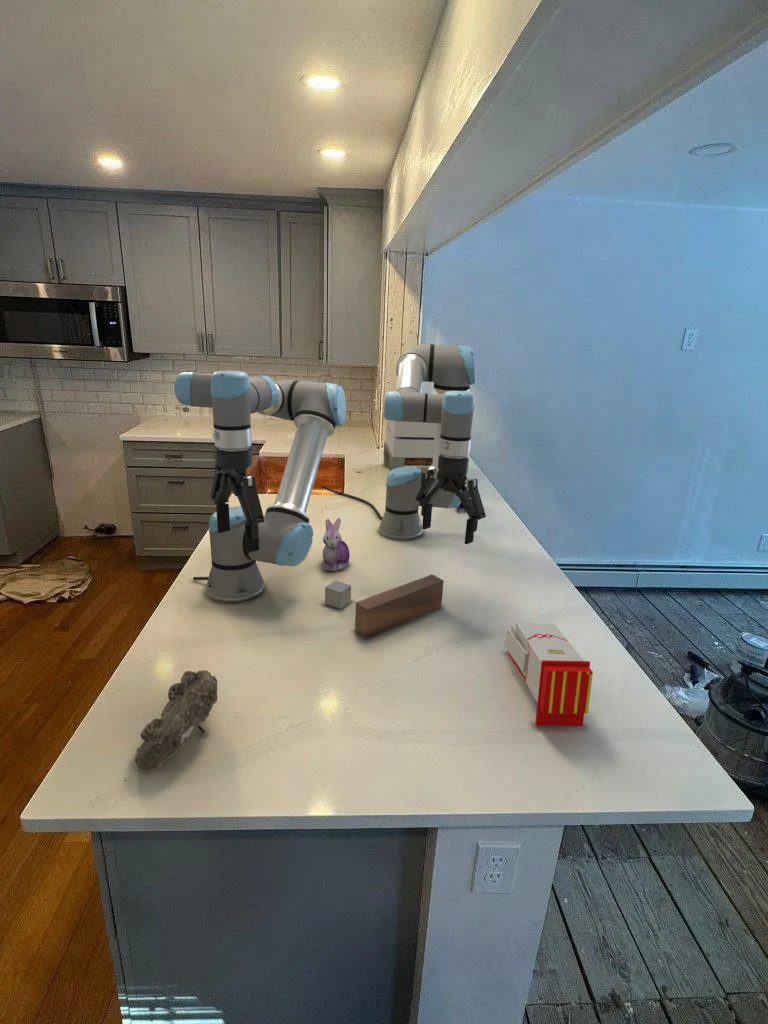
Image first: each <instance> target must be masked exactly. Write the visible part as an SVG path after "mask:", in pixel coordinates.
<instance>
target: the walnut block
mask: <svg viewBox="0 0 768 1024" xmlns="http://www.w3.org/2000/svg"><path fill="white" fill-rule="evenodd" d="M444 583H445V580H444V579H442V578H440V577H438V576H437V575H434V574H429V575H426V576H424V577H421V578H417V579H416V580H413V581H410V582H407V583H405V584H401V585H399V586H396V587H394V588H391V589H388V590H385V591H382V592H380V593H377V594H374V595H371V596H369V597H366V598H363V599H361V600H358V601H355V616H354V617H355V619H354V632H356V633H357V634H358V635H360V636H361V637H362V638H364V639H365V640H367V639H370V638H372V637H374V636H377V635H379V634H381V633H383V632H386V631H388V630H391V629H393V628H396V627H398V626H400V625H403V624H405V623H408V622H410V621H412V620H414V619H417V618H419V617H421V616H423V615H426V614H429V613H431V612H433V611H436V610H439V609H440V608H442V605H443V594H444Z"/></svg>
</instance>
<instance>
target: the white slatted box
mask: <svg viewBox="0 0 768 1024" xmlns="http://www.w3.org/2000/svg"><path fill="white" fill-rule="evenodd" d="M385 423H386V428H385V438H384V442H383V466H384V467H388V468H389V472H390V471H391V470H393V469H395V468H399V467H405V466H406V467H407V466H412V467H417V466H418V467H429V466H431V465H432V463H433V451H434V438H435V424H436V423H424V422H401V421H400V422H397V421H392V420H387V419H385Z"/></svg>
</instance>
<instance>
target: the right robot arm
mask: <svg viewBox="0 0 768 1024" xmlns="http://www.w3.org/2000/svg"><path fill="white" fill-rule="evenodd" d="M395 375H396V382H395V387H394V391H390V390H389V391H387V392H385V394H384V401H383V402H384V403H383V417H384V419H385V420H386V419H387V420H392V421H397V422H400V421H401V422H424V423H436V424H435V438H434V451H433V463H432V465H430V466H429V465H428V466H427V472H422V469H421V468H420V467H419V466H418V467H417V466H407V465H406V466H404V467H399V468H395V469H393V470H391V471H390V470H389V471H388V473H387V475H386V482H385V487H386V488H385V489H386V490H385V504H384V505H385V507H384V508H385V509H384V513H383V515H382V516H381V514H380V512H379V511H378V510H377V508H376V506H375V505H374V504H372V503H370V501H367V500H365V499H363V498H361V497H358V496H354V495H352V494H348V493H345V492H341V491H338V490H335V489H332V488H329V487H327V486H325V485H323V484H322V485H321V488H322V489H324V490H327V491H328V492H332V493H334V494H337V495H341V496H344V497H347V498H350V499H354V500H358V501H360V502H362V503H364V504H366V505H368V506H369V507H371V508H372V510H373V511H374V513H375V514H376V515H377V517H378V519H379V520H381V522H379V527H378V533H379V534H380V535H381V536H382V537H385V538H387V539H389V540H395V541H410V540H415V539H418V538H420V537H421V536H422V535H423V530H427V529H430V528H431V527H432V513H433V508H437V509H438V508H439V509H457V507H458V506H459V505H460V503H462V504H463V506H464V508H465V510H466V512H465V513H466V514H467V516H468V518H467V519H466V524H465V535H464V536H465V537H464V545H469V544H472V543H473V542H474V537H475V532H477V530H478V524H479V521H480V520H483V519H485V518H486V516H487V514H486V511H485V507H484V504H483V501H482V498H481V493H480V491H479V486H478V485H479V482H478V481H479V480H478V479H477V478H473V479H471V478H468V476H467V474H468V471H469V464H470V458H469V457H468V456H469V455H471V454H470V453H471V441H472V428H473V419H474V411H475V394H474V393H472V392H470V388H471V386H473V385H475V384H476V357H475V351H474V349H473V347H471V346H467V345H460V344H436V343H435V344H434V343H433V344H432V343H421V344H418V345H415V346H412V347H411V348H409V349H407V350H406V351H404V352H402V354H401V355H400V356H399V357H398V358H397V361H396V364H395ZM425 382H427V383H433V389H434V391H435V392H436V393H428V392H423V383H425ZM465 486H466V487H467V488H468V491H469V495H470V497H469V495H468V491H467V489H466V487H465ZM419 507H421V508H420V510H421V512H420V515H421V517H422V520H421V518H420V515H419ZM464 508H463V509H464Z"/></svg>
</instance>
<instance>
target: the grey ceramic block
mask: <svg viewBox="0 0 768 1024" xmlns="http://www.w3.org/2000/svg"><path fill="white" fill-rule="evenodd" d="M324 589H325V590H324V605H326V606H330V607H333V608H335V609H339V610H342V609H343V608H344V607H346V606H347V605H348V604H350V603H351V601H352V584H349V583H346V582H343V581H340V580H337V579H336V580H334V581H332V582H331V583H329V584H328V585H326V586H325V587H324Z"/></svg>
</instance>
